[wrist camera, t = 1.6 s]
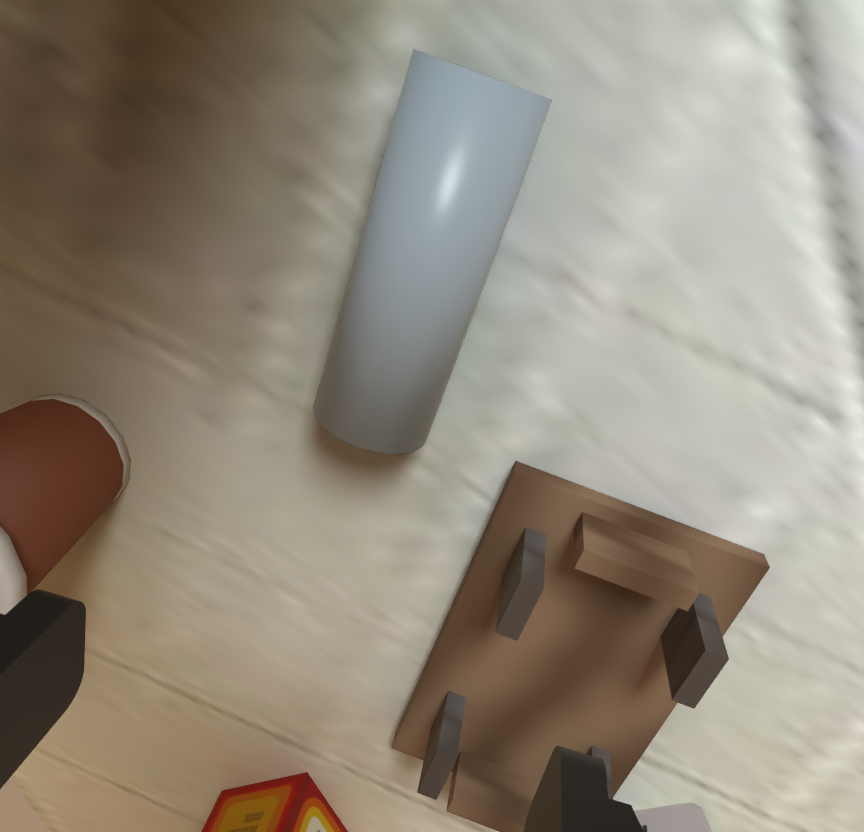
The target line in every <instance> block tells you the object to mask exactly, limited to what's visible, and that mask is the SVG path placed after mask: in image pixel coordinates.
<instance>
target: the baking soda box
mask: <svg viewBox="0 0 864 832" xmlns="http://www.w3.org/2000/svg"><path fill="white" fill-rule="evenodd" d="M202 832H348V831H347V830H346V828H345V827H344V826H343V824H342V823H341V821H340V820H339V818H338V817H337V815H336V814H335V812H334V811H333V809H332V808H331V806H330V805H329V804H328V802H327V801H326V799H325V798H324V796H323V795H322V793H321V792H320V790H319V789H318V787H317V786H316V784H315V783H314V781H313V780H312V779H311V777H310V776H309V774H308V773H307V772H306V773H302V774H297V775H292V776H288V777H283V778H279V779H274V780H269V781H265V782H260V783H255V784H251V785H246V786H242V787H237V788H232V789H228V790H223V791H222V792H221V794H220V796H219V798H218V800H217V802H216V804H215V806H214V808H213V810H212V812H211V814H210V816H209V818H208V820H207V822H206V824H205V826H204V828H203V830H202Z"/></svg>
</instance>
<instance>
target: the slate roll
mask: <svg viewBox="0 0 864 832" xmlns="http://www.w3.org/2000/svg"><path fill="white" fill-rule="evenodd" d="M551 102H552V100H551V99H548V98H546V97H543V96H540V95H538V94H535V93H532V92H530V91H527V90H524V89H521V88H519V87H516V86H513V85H511V84H508V83H505V82H502V81H500V80H497V79H494V78H492V77H489V76H486V75H483V74H481V73H478V72H475V71H473V70H470V69H467V68H464V67H462V66H459V65H456V64H453V63H451V62H448V61H445V60H442V59H440V58H437V57H434V56H431V55H429V54H426V53H423V52H420V51H418V50H415V49H413V53H412V57H411V60H410V64H409V67H408V71H407V74H406V78H405V82H404V85H403V89H402V92H401V96H400V99H399V103H398V106H397V110H396V114H395V117H394V121H393V124H392V128H391V131H390V135H389V139H388V142H387V146H386V149H385V153H384V156H383V160H382V163H381V167H380V171H379V174H378V178H377V181H376V185H375V188H374V192H373V196H372V199H371V203H370V206H369V210H368V213H367V217H366V221H365V224H364V228H363V231H362V235H361V238H360V242H359V245H358V249H357V253H356V256H355V260H354V263H353V267H352V270H351V274H350V278H349V281H348V285H347V288H346V292H345V295H344V299H343V302H342V306H341V310H340V313H339V317H338V320H337V324H336V327H335V331H334V335H333V338H332V342H331V345H330V349H329V352H328V356H327V360H326V363H325V367H324V370H323V374H322V377H321V381H320V384H319V388H318V392H317V395H316V399H315V402H314V406H313V411H314V415H315V417H316V419H317V420H318V422H319V423H320V424H321V425H322V426H323V427H324V428H325V429H326V430H327V431H328V432H330V433H331V434H333V435H334V436H335V437H337V438H339V439H341V440H342V441H344V442H347V443H349V444H351V445H353V446H356V447H359V448H362V449H365V450H369V451H373V452H378V453H385V454H405V453H410V452H414V451H416V450H418V449H420V448H421V447H422V446H423V445H424V444H425V442H426V440H427V437H428V434H429V432H430V429H431V426H432V424H433V421H434V418H435V415H436V413H437V410H438V407H439V405H440V402H441V399H442V397H443V394H444V391H445V388H446V386H447V383H448V380H449V378H450V375H451V372H452V369H453V367H454V364H455V361H456V359H457V356H458V353H459V351H460V348H461V345H462V342H463V340H464V337H465V334H466V332H467V329H468V326H469V323H470V321H471V318H472V315H473V313H474V310H475V307H476V305H477V302H478V299H479V296H480V294H481V291H482V288H483V286H484V283H485V280H486V277H487V275H488V272H489V269H490V267H491V264H492V261H493V259H494V256H495V253H496V250H497V248H498V245H499V242H500V240H501V237H502V234H503V231H504V229H505V226H506V223H507V221H508V218H509V215H510V213H511V210H512V207H513V204H514V202H515V199H516V196H517V194H518V191H519V188H520V185H521V183H522V180H523V177H524V175H525V172H526V169H527V167H528V164H529V161H530V158H531V156H532V153H533V150H534V148H535V145H536V142H537V139H538V137H539V134H540V131H541V129H542V126H543V123H544V121H545V118H546V115H547V112H548V110H549V107H550V104H551Z"/></svg>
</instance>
